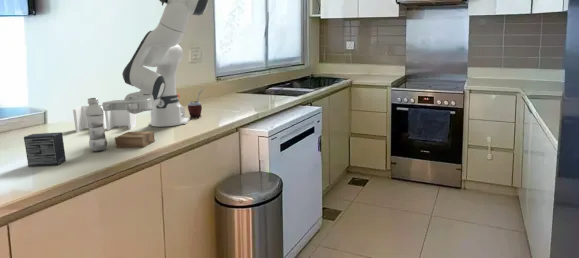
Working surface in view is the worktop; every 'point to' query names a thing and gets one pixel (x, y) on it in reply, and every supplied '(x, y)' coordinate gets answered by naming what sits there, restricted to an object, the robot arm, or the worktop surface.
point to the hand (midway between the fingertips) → (117, 107)
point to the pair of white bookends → (105, 118)
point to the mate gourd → (195, 108)
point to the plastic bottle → (96, 125)
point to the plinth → (134, 139)
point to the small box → (44, 149)
